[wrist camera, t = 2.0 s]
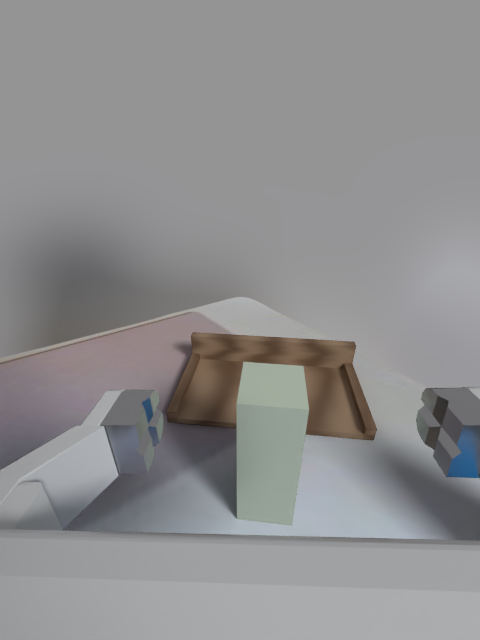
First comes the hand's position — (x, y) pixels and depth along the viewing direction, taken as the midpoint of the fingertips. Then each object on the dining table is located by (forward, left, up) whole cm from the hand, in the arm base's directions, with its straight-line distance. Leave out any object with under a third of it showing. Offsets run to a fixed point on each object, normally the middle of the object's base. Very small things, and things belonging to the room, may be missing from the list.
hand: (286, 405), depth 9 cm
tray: (0, +26, -22) cm, 34 cm away
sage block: (0, +11, -22) cm, 25 cm away
